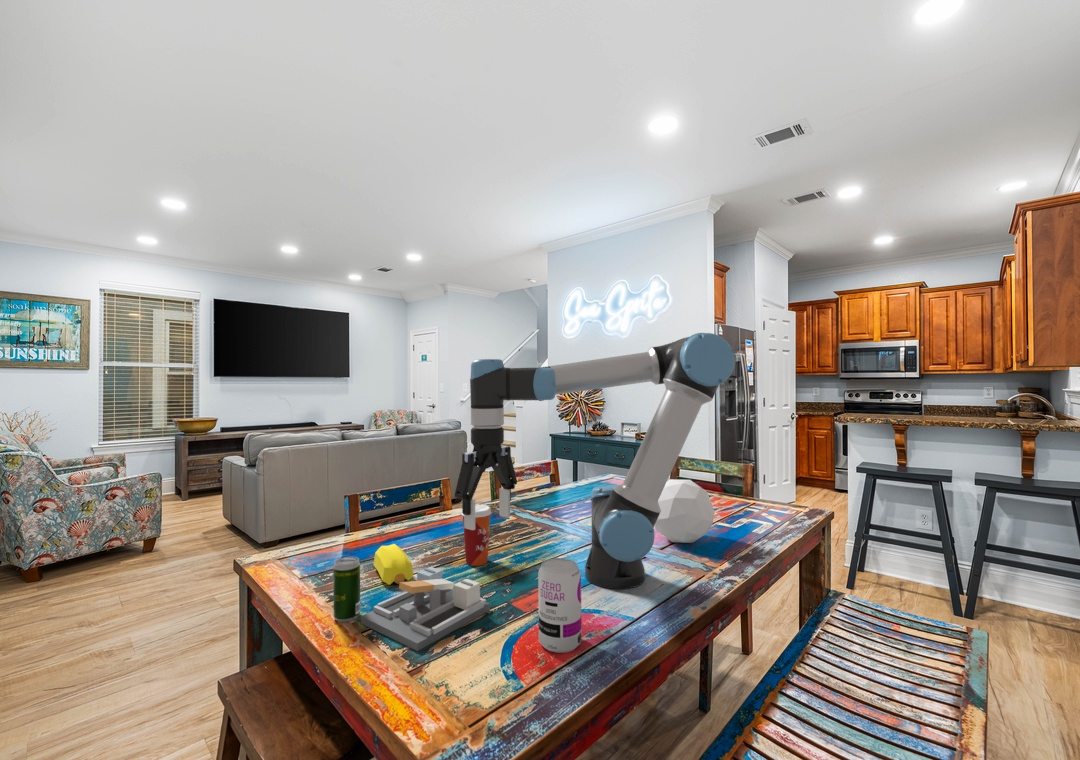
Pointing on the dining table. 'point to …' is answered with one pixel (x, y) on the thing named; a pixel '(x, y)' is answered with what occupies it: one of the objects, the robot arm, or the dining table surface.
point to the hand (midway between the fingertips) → (488, 522)
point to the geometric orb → (684, 511)
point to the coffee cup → (478, 537)
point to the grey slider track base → (421, 617)
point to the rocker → (426, 585)
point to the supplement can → (559, 605)
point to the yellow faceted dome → (393, 564)
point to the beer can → (346, 589)
